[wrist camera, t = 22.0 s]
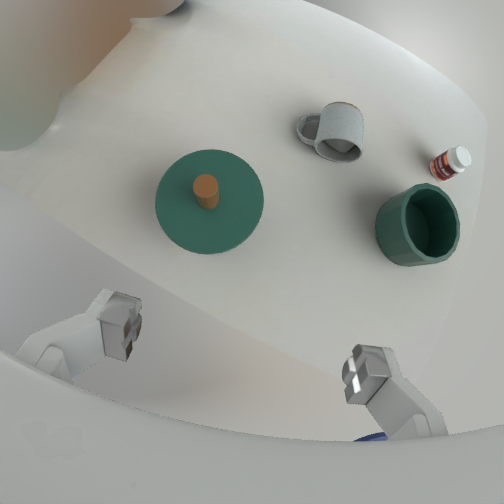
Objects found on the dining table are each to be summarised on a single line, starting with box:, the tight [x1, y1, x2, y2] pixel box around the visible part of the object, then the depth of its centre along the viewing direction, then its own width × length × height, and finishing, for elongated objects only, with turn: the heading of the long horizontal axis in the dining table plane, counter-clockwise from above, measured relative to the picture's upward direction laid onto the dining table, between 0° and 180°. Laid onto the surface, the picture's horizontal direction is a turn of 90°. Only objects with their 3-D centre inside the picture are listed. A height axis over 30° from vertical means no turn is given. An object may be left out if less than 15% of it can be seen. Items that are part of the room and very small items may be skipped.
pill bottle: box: [430, 146, 471, 181], centre depth 46 cm, size 5×5×8 cm
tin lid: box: [155, 150, 264, 254], centre depth 34 cm, size 13×13×6 cm
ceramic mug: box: [296, 102, 364, 162], centre depth 45 cm, size 11×8×8 cm
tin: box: [376, 183, 460, 267], centre depth 44 cm, size 12×12×8 cm
